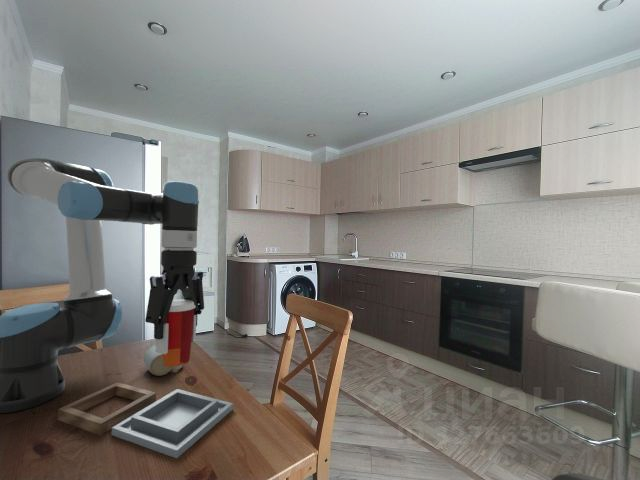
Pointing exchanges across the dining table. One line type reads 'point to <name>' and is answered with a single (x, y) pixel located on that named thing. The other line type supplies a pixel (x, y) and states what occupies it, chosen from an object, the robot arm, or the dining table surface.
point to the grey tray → (173, 422)
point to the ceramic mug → (157, 362)
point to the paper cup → (179, 332)
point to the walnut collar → (93, 423)
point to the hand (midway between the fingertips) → (176, 346)
